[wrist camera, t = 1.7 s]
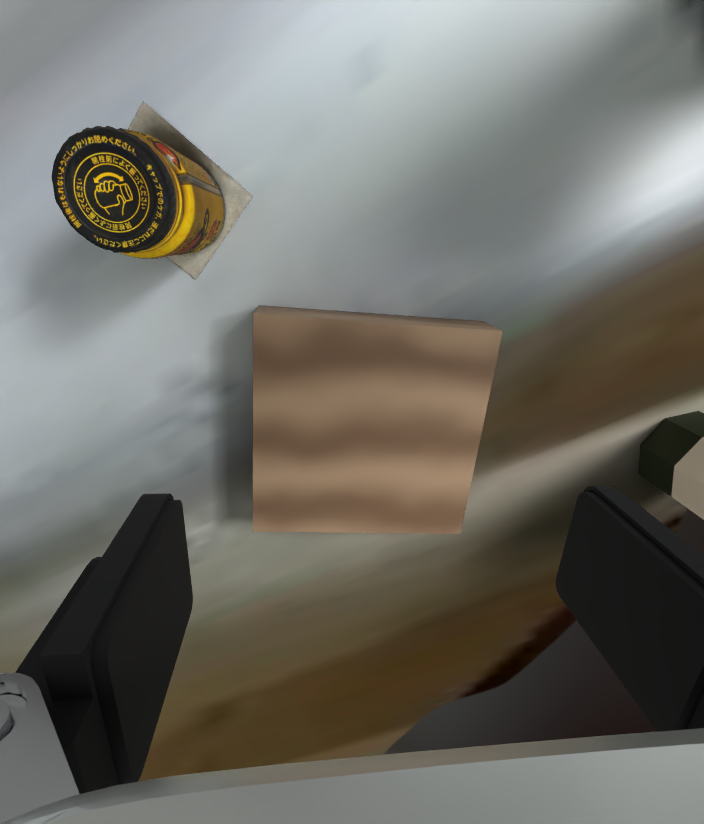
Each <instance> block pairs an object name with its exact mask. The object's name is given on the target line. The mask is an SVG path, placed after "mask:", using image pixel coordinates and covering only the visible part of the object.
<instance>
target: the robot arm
mask: <svg viewBox="0 0 704 824" xmlns="http://www.w3.org/2000/svg"><path fill="white" fill-rule="evenodd" d="M556 589H557V592H558V594H559V596H560V597H561V599H562V600H563V602H564V603H565V604H566V606H567V607H568V608H569V610H570V611H571V613H572V614H573V615H574V617H575V618H576V620H577V621H578V622H579V624H580V625H581V627H582V628H583V629H584V631H585V632H586V634H587V635H588V636H589V638H590V639H591V641H592V642H593V643H594V645H595V646H596V647H597V649H598V650H599V652H600V653H601V654H602V656H603V657H604V659H605V660H606V661H607V663H608V664H609V665H610V667H611V668H612V670H613V671H614V673H615V674H616V675H617V677H618V678H619V680H620V681H621V682H622V684H623V685H624V686H625V688H626V689H627V691H628V692H629V693H630V695H631V696H632V698H633V699H634V700H635V702H636V703H637V704H638V706H639V707H640V709H641V710H642V712H643V713H644V714H645V716H646V717H647V719H648V720H649V721H650V723H651V724H652V725H653V727H654V728H655V729H656V731H657V732H649V733H636V734H623V735H611V736H598V737H586V738H575V739H562V740H551V741H538V742H526V743H514V744H502V745H491V746H479V747H468V748H456V749H444V750H432V751H421V752H410V753H399V754H388V755H377V756H366V757H355V758H344V759H333V760H322V761H311V762H300V763H289V764H278V765H269V766H260V767H251V768H242V769H233V770H224V771H215V772H206V773H196V774H187V775H178V776H171V777H164V778H158V779H152V780H146V781H140V782H138V780H139V778H140V777H141V774H142V771H143V768H144V765H145V761H146V758H147V755H148V751H149V748H150V745H151V742H152V738H153V735H154V732H155V729H156V725H157V722H158V719H159V715H160V712H161V709H162V706H163V702H164V699H165V696H166V693H167V689H168V686H169V683H170V679H171V676H172V673H173V670H174V666H175V663H176V660H177V657H178V653H179V650H180V647H181V643H182V640H183V637H184V634H185V630H186V627H187V624H188V621H189V617H190V614H191V610H192V602H193V594H192V585H191V576H190V568H189V559H188V550H187V542H186V533H185V524H184V516H183V507H182V502H181V501H180V500H174V499H173V496H172V495H171V494H143V495H142V496H141V497H140V499H139V500H138V502H137V503H136V505H135V506H134V508H133V510H132V511H131V513H130V514H129V516H128V517H127V519H126V520H125V522H124V524H123V525H122V527H121V528H120V530H119V531H118V533H117V535H116V536H115V538H114V539H113V541H112V542H111V544H110V545H109V547H108V549H107V550H106V552H105V553H104V555H103V556H102V557H96V558H94V559H92V560H91V561H90V563H89V564H88V565H87V566H86V568H85V569H84V571H83V572H82V574H81V575H80V577H79V578H78V580H77V581H76V583H75V584H74V586H73V587H72V589H71V590H70V592H69V593H68V595H67V596H66V598H65V599H64V601H63V602H62V604H61V605H60V607H59V608H58V610H57V611H56V613H55V614H54V616H53V617H52V619H51V620H50V622H49V623H48V625H47V626H46V627H45V629H44V630H43V632H42V633H41V635H40V636H39V638H38V639H37V641H36V642H35V644H34V645H33V647H32V648H31V650H30V651H29V653H28V654H27V656H26V657H25V659H24V660H23V662H22V663H21V665H20V666H19V668H18V669H17V671H16V672H15V673H2V674H0V824H704V556H703V555H701V554H700V553H699V552H698V551H696V550H695V549H694V548H693V547H691V546H690V545H689V544H687V543H686V542H685V541H684V540H682V539H681V538H680V537H679V536H677V535H676V534H675V533H674V532H672V531H671V530H670V529H669V528H667V527H666V526H665V525H663V524H662V523H661V522H660V521H658V520H657V519H656V518H655V517H653V516H652V515H651V514H650V513H648V512H647V511H646V510H644V509H643V508H642V507H641V506H639V505H638V504H637V503H636V502H634V501H633V500H632V499H631V498H629V497H628V496H627V495H625V494H624V493H623V492H622V491H620V490H619V489H618V488H616V487H614V486H590V487H587V488H586V489H585V490H584V492H583V493H580V495H579V496H578V498H577V502H576V506H575V510H574V513H573V517H572V521H571V525H570V528H569V532H568V536H567V540H566V543H565V547H564V551H563V555H562V558H561V562H560V566H559V570H558V573H557V577H556Z"/></svg>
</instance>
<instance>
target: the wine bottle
mask: <svg viewBox="0 0 704 824" xmlns="http://www.w3.org/2000/svg"><path fill="white" fill-rule="evenodd" d="M639 474H641V475H642V476H643V477H645V478H646V479H648V480H649V481H650V482H652V483H653V484H655V485H656V486H657V487H659V488H660V489H662V490H663V491H664V492H666V493H667V494H669V495H670V496H671V497H673V498H674V499H676V500H677V501H678V502H680V503H681V504H683V505H684V506H685V507H687V508H688V509H690V510H691V511H692V512H694V513H695V514H697V515H698V516H700V517H701V518H702V519H704V413H701V412H699V411H697V412H692V413H688V414H683V415H679V416H674V417H670V418H665V419H664V420H663V421H662V423H661V424H660V425H659V426H658V427H657V428H656V429H655V430H654V431H653V432H652V433H651V434H650V435H649V436H648V437H647V438H646V440H645V441H644V442H643V443H642V444H641V446H640V461H639Z"/></svg>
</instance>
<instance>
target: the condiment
mask: <svg viewBox="0 0 704 824" xmlns="http://www.w3.org/2000/svg"><path fill="white" fill-rule="evenodd" d="M52 182H53V188H54V195H55V200H56V202H57V204H58V205H59V207H60V209H61V210H62V212H63V214H64V216H65V217H66V219H67V220H68V222H69V224H70V225H71V226H72V227H73V228H74V229H75V230H76V231H77V232H78V233H79V234H80V235H82V236H83V237H85V238H86V239H87V240H88V241H90V242H91V243H93V244H95V245H96V246H98V247H101V248H103V249H106V250H111V251H113V252H115V253H116V252H120V253H122V254H125V255H128V256H132V257H136V258H152V259H154V258H156V259H158V258H160V257H165V256H166V257H167V258H169V259H170V260H171V261H173V262H174V263H175V264H176V265H178V266H179V267H180V268H182V269H183V270H184V271H186V272H187V273H188V274H189V275H191V276H192V277H193V278H194V279H196V278H197V277H198V275H199V274H200V272H201V271H202V269H203V268H204V267H205V265H206V264H207V262H208V261H209V259H210V258H211V257H212V255H213V254H214V252H215V251H216V249H217V248H218V247H219V245H220V244H221V242H222V241H223V239H224V238H225V236H226V235H227V234H228V232H229V231H230V229H231V228H232V226H233V225H234V223H235V222H236V220H237V219H238V218H239V216H240V214H241V213H242V211H243V210H244V209H245V207H246V206H247V204H248V203H249V201H250V200H251V198H252V197H253V196H252V195H251V194H250V193H249V192H248V191H246V190H245V189H244V188H243V187H242V186H241V185H240V184H238V183H237V182H236V181H235V180H234V179H233V178H231V177H230V176H229V175H228V174H227V173H226V172H224V171H223V170H222V169H221V168H220V167H219V166H218V165H216V164H215V163H214V162H213V161H212V160H211V159H209V158H208V157H207V156H206V155H205V154H204V153H203V152H201V151H200V150H199V149H198V148H197V147H196V146H194V145H193V144H192V143H191V142H190V141H189V140H187V139H186V138H185V137H184V136H183V135H182V134H181V133H179V132H178V131H177V130H176V129H175V128H174V127H173V126H172V125H170V124H169V123H168V122H167V121H166V120H164V119H163V118H162V117H161V116H160V115H159V114H157V113H156V112H155V111H154V110H153V109H152V108H151V107H149V106H148V105H147V104H146V103H145V102H144V101H143V103H142V104H141V106H140V108H139V110H138V112H137V114H136V116H135V118H134V119H133V121H132V123H131V125H130V127H129V128H128V130H127V129H122V128H120V129H115V128H113V127H110V126H106V127H101V126H96V127H94V128H86V129H84V130H83V131H82V132H80V133H76V134H74V135H72V136H71V137H69V138H68V140H67V141H66V142H65V143H64V144H63V145H62V147H61V149H60V151H59V153H58V154H57V156H56V158H55V161H54V165H53V171H52Z"/></svg>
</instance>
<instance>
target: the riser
mask: <svg viewBox="0 0 704 824" xmlns="http://www.w3.org/2000/svg"><path fill="white" fill-rule="evenodd" d="M502 333H503V331H502V330H500V329H498V328H496V327H494V326H491V325H489V324H487V323H485V322H483V321H471V320H457V319H443V318H429V317H415V316H401V315H386V314H372V313H358V312H344V311H330V310H316V309H302V308H288V307H274V306H260V305H259V306H258V308H257V309H256V311H255V312H254V313H253V531H261V532H348V533H435V534H460V533H461V528H462V524H463V519H464V514H465V509H466V504H467V500H468V495H469V490H470V485H471V481H472V476H473V471H474V466H475V462H476V457H477V452H478V447H479V443H480V438H481V433H482V428H483V424H484V419H485V414H486V409H487V405H488V400H489V395H490V390H491V386H492V381H493V376H494V371H495V367H496V362H497V357H498V352H499V347H500V343H501V338H502Z"/></svg>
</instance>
